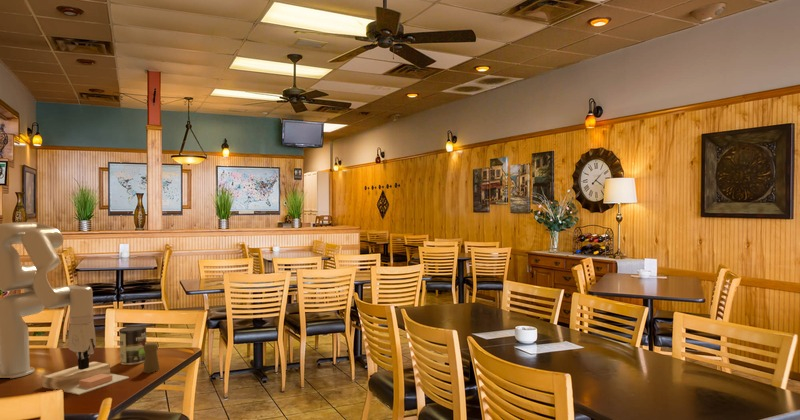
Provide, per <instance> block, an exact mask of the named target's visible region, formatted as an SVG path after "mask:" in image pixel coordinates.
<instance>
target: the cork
mask: <svg viewBox="0 0 800 420" xmlns="http://www.w3.org/2000/svg"><path fill="white" fill-rule="evenodd" d="M158 349H159V345H158V343H157V342H146V344H145V345H144V351H145V360H144V362H143V368H142V369H143V370H142V372H143V373H145V374H152V373H151V372H153V373H156V372H155V371H157V372H159V371H160V364H159V363H160V362H159V357H158ZM158 370H159V371H158Z"/></svg>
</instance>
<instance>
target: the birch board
mask: <svg viewBox="0 0 800 420" xmlns="http://www.w3.org/2000/svg"><path fill="white" fill-rule="evenodd" d="M101 373H103V374H111V364H110V363H106V362H105V363H104V362H99V361H95V360H94V361H89V368H86V369H83V370H80V369H78V365H75V366H73V367H69V368H66V369H62V370H60V371H59V370H58V371H55V372H52V373H49V374H45V375H42V376H41V378H42V379H41V381H42V382H41V383H42V388H45V389H50V390H55V391H57V390H56V389H64V388H67V387H70V386H73V385H76V384H79V380H82V379H85V378H89V377H92V376H95V375H98V374H101Z"/></svg>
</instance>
